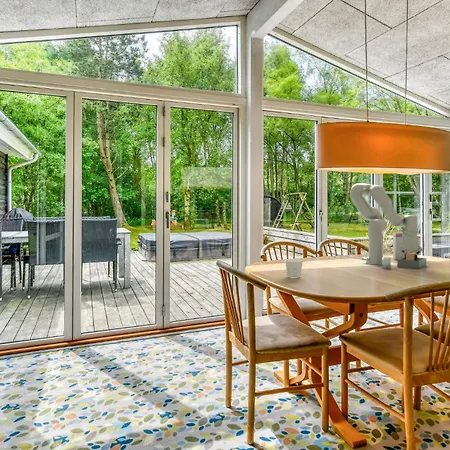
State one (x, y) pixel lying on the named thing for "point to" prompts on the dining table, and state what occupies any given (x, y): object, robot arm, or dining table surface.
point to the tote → (411, 263)
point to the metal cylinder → (386, 263)
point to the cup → (294, 267)
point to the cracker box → (398, 245)
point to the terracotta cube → (410, 256)
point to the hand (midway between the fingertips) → (410, 260)
